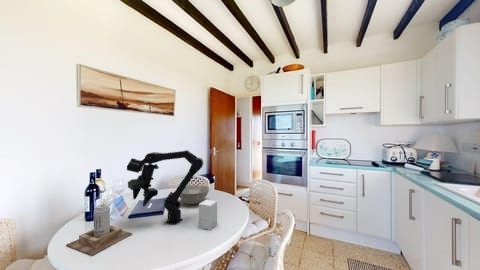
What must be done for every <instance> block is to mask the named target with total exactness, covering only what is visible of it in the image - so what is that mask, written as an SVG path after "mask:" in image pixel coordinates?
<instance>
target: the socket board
mask: <svg viewBox="0 0 480 270" xmlns="http://www.w3.org/2000/svg"><path fill="white" fill-rule="evenodd" d="M133 234H134V233H132V232H129V231H126V230H123V229H122V228H120V227H116V226H112V225H110V233H108V234H106V235H104V236H101V237H99V238H95V237H94V229H91V230H89V231H86V232H85V233H82V234H79V235H78V239H76V240H74V241H71V242H69V243H66V245H65V247H68V248H70V249H73V250H76V251H77V252H80V253H83V254H85V255H88V256H90V257H94V256H96V255H97V254H99V253H101V252H102V251H104V250H106V249H108V248H111V247H112V246H114V245H116V244H118V243H120V242H121V241H123V240H125V239H127V238H129V237H131V236H133Z"/></svg>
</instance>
